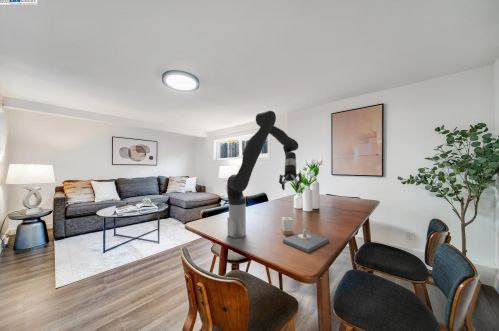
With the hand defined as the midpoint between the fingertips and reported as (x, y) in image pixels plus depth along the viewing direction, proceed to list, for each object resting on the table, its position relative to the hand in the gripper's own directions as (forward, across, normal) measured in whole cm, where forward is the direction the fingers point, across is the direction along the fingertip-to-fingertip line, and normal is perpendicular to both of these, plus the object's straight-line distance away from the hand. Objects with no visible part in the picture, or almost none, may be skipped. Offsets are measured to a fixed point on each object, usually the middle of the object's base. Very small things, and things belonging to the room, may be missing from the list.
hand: (290, 189), depth 114 cm
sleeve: (+26, -1, -1) cm, 26 cm away
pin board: (+31, +10, -8) cm, 34 cm away
